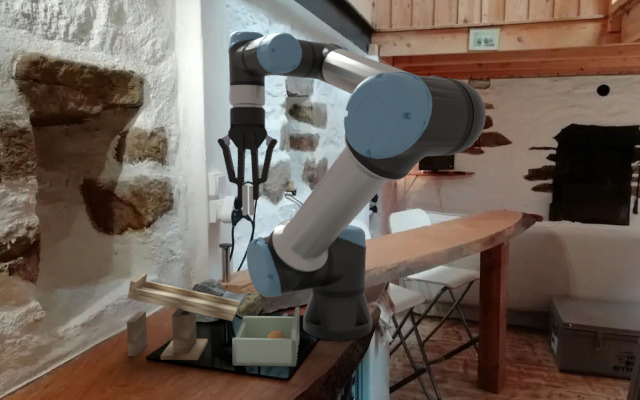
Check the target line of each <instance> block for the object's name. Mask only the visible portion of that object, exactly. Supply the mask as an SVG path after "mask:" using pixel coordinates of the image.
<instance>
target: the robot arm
mask: <svg viewBox="0 0 640 400" xmlns="http://www.w3.org/2000/svg"><path fill="white" fill-rule="evenodd" d="M228 44H229V45H228V46H229V47H228V51H227V52H228V61H229V63H228V68H229V69H228V71H229V104H230V105H231V106H232V107H231V108H230V109H229V124H230V125H229V129H228V131H227V134H226V135H225V136H223V137H222V138H218V139H217V143H218V145H219V147H220V148H221V151H222V155H223V159H224V164H225V169H226V173H227V179H228V181H229V183H232V184H235V185H236V187H237V200H239V201H240V200H241V201H242V205H241V206H242V216H247V215H249V216H254V215H255V211H256V210H255V201H258V200H259V198H260V185H262V184H264V183H266V182H267V181H268V178H269V173H270V168H271V162H272V158H273V154H274V153H273V152H274V149H275V147H276V146H277V144H278V139H276V138H274V137H272V136H270V135H269V134H268V131H267V129H266V109H265V108H264V107H263V106H265V105H266V91H265V88H266V84H265V83H266V77H267V76H268V77H270V76H280V77H281V76H282V77H292V78H303V79H313V80H319V81H320V82H322V83H323V82H324V83H325V84H328V85H330V86H333V87H335V88H337V89H339V90H342V91H344V92H346V93H349V94H350V97H349V98H348V101H347V104H346V106H345V111H347V115H346V116H343V126H344V127H343V128H344V143H345V147H344V149H343V150H342V151H341V153H340V154H339V155H338V156H337V158H336V159H335V160H334V162H333V163H332V164H331V166H330V167H329V168H328V170H327V171H326V172H325V174H324V175H323V176H322V178H321V179H320V181H319V182H318V184H316V186H315V187H314V188H313V190H312V191H311V193H310V194H309V195H308V197H307V198H306V200H304V202H303V204H302V205H301V206H300V207H299V209H298V210H297V212H295V214H294V215H293V217H292V218H288V219H284V220H282V221H280V222H279V223H278V224H277V225H276V226H275V228H274V229H272V231H271V233H270V234H269V235H268V236H264V237H262V236H259V237H257V238H254V239H252V240H250V242H249V244H248V246H247V249H246V267H247V270H248V275H249V278H250V280H251V281H250V282H252V285H253V288H254V289H255V290H256V291H257V293H258V294H259V295H260V296H261V297H265V298H273V297H281V296H282V295H288V294H292V293H296V292H301V291H306V290H311V293H310V295H309V296H310V297H309V300H308V302H307V305H306V308H305V311H304V314H303V318H302V319H303V321H302V328H303V330H304V332H305V333H306V334H308V335H310V336H311V337H314V338H317V337H318V338H317V339H321V340H327V341H340V342H341V341H342V342H343V341H345V342H346V341H352V340H358V339H361V338H364V337H366V336H369V334H370V333H372V330H373V317H372V314H371V311H370V308H369V303H368V301H367V297H366V295H365V294H366V293H365V291H366V290H365V289H366V288H365V287H366V258H367V256H366V254H367V245H366V233H365V231H364V230H363V228H361V227H359V226H356V225H351V223H352V222H353V220H354V219H356V217H357V216H358V215H359V214H360V213H361V211H362V210H364V208H365V207H366V206H367V205H368V204H369V202H371V201H372V199H374V197H375V196H376V195H377V194H378V193H379V191H380V190H381V189H383V188H384V186H385V185H386V184H387V183H388V182H389V181H391V182H392V181H393V182H396V181H400V180H403V179H404V178H405V177H406V176H407V175H408V174H409V173H410V172H411V171H412V170H413V169H414V168H415V167H416V166H417V164H419V162H420V161H421V160H423V159H424V158H425V157H441V156H443V157H444V156H452V155H457V154H459V153H461V152H464V151H466V149H468V148H470V147H471V146H472V145H474V143H475V142H476V141H477V140H478V139H479V137H480V136H481V134H482V133H483V129H484V127H485V124H486V118H487V117H486V116H487V115H486V105H485V103H484V99H483V98H482V96H481V94H480V92H478V91H477V90H476V89H475V88H474V87H473V86H472V85H470V84H468V83H466V82H465V81H462V80H459V79H455V78H448V77H447V78H444V77H441V76H439V75H429V76H428V75H417V74H414V73H411V72H408V71H405V70H402V69H400V68H397V67H394V66H392V65H389V64H385V63H382V62H380V61H377V60H374V59H373V58H369V57H366V56H364V55H360V54H358V53H354V52H353V51H349V49H348V48H347V47H345V46H344V45H338V44H335V43H327V42H326V43H325V42H317V41H310V40H309V41H308V40H305V39H299V38H298V39H297V38H296V37H294V36H293V35H292V34H291V33H288V32H279V33H278V32H272V33H271V34H267V35H265V36H264V34H262V33H261V32H259V31H254V30H253V31H252V30H241V31H240V30H237V31H234V32H232V33H231V34H230V35H229V43H228ZM231 142H232V144H234V146H235V147H236V149H237V170H236V171H237V172H236V171H235V167H234V161H233V157H232V153H231V149H230V148H231V147H230V145H231ZM264 142H265V145H266V151H265V155H264V160H263V166H262V171H261V175H260V169H259V168H260V166H259V149H260V147H261V146H262V145H263V143H264ZM247 150H249V152H250V160H251V161H250V162H251V184H250V185H249V184H245V167H246V151H247ZM236 175H237V176H236ZM260 176H261V177H260ZM248 185H249V186H248Z"/></svg>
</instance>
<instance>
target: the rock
mask: <svg viewBox="0 0 640 400" xmlns="http://www.w3.org/2000/svg"><path fill="white" fill-rule="evenodd" d="M255 293H256V292H253V291H250V290H247V291H246V292H242V293H241V294H242V295H244V299H243V301H242V303H241V305H240V307H239V309H238V311H237V313H236V315H237V316H238V317H239V318H241V319H243V316H259V314H260V313H261V311H262V309H263V308H264V306H263V305H264V304H263V300H262V295H261V294H259V293H258V294H259V295H258V294H255Z"/></svg>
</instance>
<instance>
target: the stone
mask: <svg viewBox="0 0 640 400" xmlns="http://www.w3.org/2000/svg"><path fill="white" fill-rule="evenodd" d="M191 290H192V291H196V292H201V293H206V294H210V295H215V296H219V297H222V296H223V295H224V293H225V292H226V291H228V289H226V288H225V286H223V284H221V282H220V281H219V280H217V279H213V278H210V279H207V280H204V281H202V282H198V283H197V284H194V285H193V287H192V289H191ZM219 320H220V318H216V317H211V316H207V315H202V314H197V313H196V323H198V322H199V323H200V322H201V323H212V322H216V321H219Z"/></svg>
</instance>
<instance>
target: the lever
mask: <svg viewBox="0 0 640 400" xmlns="http://www.w3.org/2000/svg"><path fill="white" fill-rule="evenodd" d="M147 276H148V273H147V272H141V273H140V274H138V275H137V276H135V277H134V278H133V279H131V280H130V282H129V287H128V288H129V289H128V294H127V299H129V300H133V301H138V302H143V303H147V304H153V305H156V306H162V307H165V308H171V309H175V311H176V312H175V311H174V313H175V315H176V316H177V317H179V316H181V314H182V313H183V312H184V311H188V312H193V313H197V314H202V315H207V316H211V317H216V318H219V320H220V319H221V320H226V321H230V322H233V321H234V319H235V316H236V315H237V314H236V313H237V311H238V309H239V307H240V305H241V303H242V301H243V299H244V295H242V293H236V292H232V291H228V290H227V291H226V292H225V293H224V295H223V296H222V297H219V296H215V295H210V294H206V293H201V292H196V291H192V289H187V288H183V287H177V286H173V285H168V284H163V283H158V282H156V281H155V282H154V281H150V280H147V278H148V277H147Z"/></svg>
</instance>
